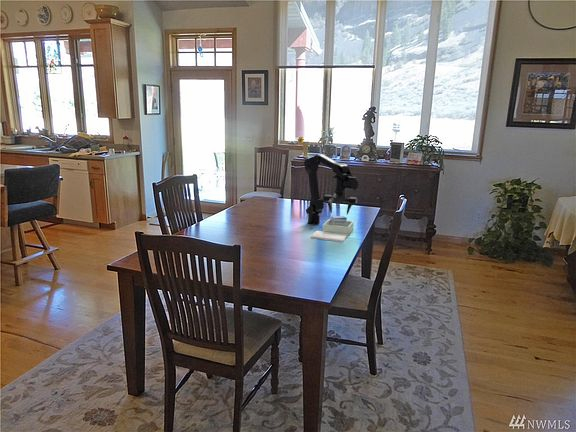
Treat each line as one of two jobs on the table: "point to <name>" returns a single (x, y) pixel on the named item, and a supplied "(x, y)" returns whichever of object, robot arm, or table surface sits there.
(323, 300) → the table surface
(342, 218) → the medicine box
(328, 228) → the sage bin
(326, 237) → the tray
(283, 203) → the table surface
